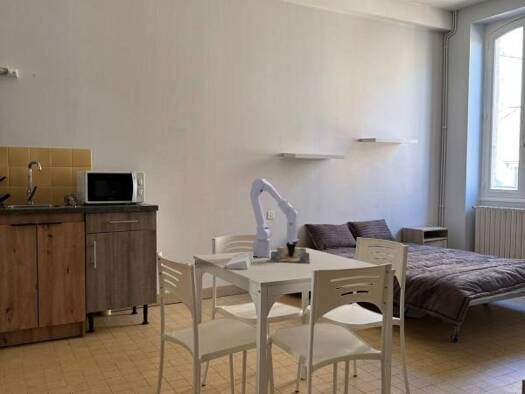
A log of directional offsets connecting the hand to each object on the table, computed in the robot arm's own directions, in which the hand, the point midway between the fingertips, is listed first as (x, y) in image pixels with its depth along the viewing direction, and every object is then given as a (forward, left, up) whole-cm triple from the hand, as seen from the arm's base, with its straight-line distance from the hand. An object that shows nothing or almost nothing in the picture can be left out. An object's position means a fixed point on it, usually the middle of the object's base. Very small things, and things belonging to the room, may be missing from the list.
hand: (291, 255), depth 285 cm
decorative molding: (-25, -25, -2) cm, 35 cm away
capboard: (0, -11, -1) cm, 11 cm away
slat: (0, 0, -2) cm, 2 cm away
